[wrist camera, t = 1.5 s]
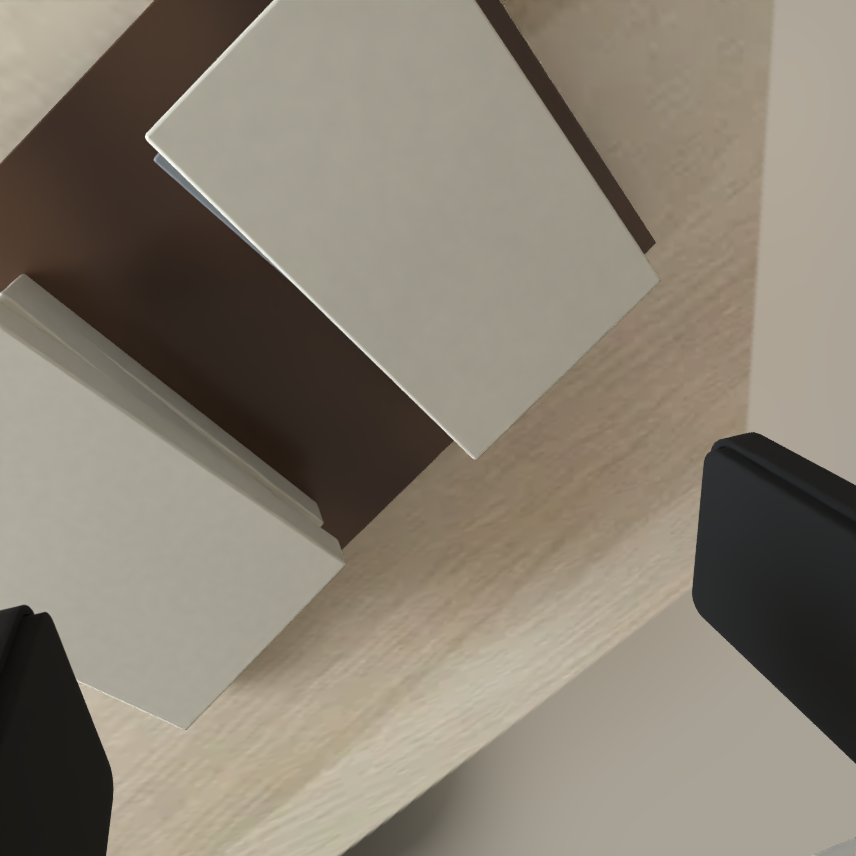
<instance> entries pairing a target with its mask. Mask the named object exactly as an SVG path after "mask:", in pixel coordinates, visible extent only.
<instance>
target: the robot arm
mask: <svg viewBox="0 0 856 856" xmlns="http://www.w3.org/2000/svg"><path fill="white" fill-rule="evenodd" d="M692 597H693V602H694V604H695V607H696V609H697V610H698V612H699V614H700V615H701V616H702V617H703V618H704V619H705V620H706V621H707V622H708V623H709V624H710V625H711V626H712V627H713V628H714V629H715V630H716V631H718V632H719V633H720V634H721V635H722V636H723V637H724V638H725V639H726V640H727V641H728V642H729V643H730V644H731V645H732V646H733V647H735V649H736V650H737V651H738V652H739V653H741V654H742V655H743V656H744V657H745V658H746V659H747V660H748V661H749V662H750V663H751V664H752V665H753V666H754V667H755V668H756V669H757V670H758V671H759V672H760V673H761V674H763V675H764V676H765V677H766V678H767V679H768V680H769V681H770V682H771V683H772V684H773V685H774V686H775V687H776V688H777V689H778V690H779V691H780V692H781V693H783V695H784V696H786V697H787V698H788V699H789V700H790V701H791V702H792V703H793V704H794V705H795V706H796V707H797V708H798V709H799V710H800V711H801V712H802V713H803V714H804V715H805V716H806V717H807V718H809V719H810V720H811V721H812V722H813V723H814V724H815V725H816V726H817V727H818V728H819V729H820V730H821V731H822V732H823V733H824V734H825V735H826V736H828V738H829V739H831V740H832V741H833V742H834V743H835V744H836V745H837V746H838V747H839V748H840V749H841V750H842V751H843V752H844V753H845V754H846V755H847V756H848V757H849V758H850V759H852V761H854V762H855V763H856V485H854V484H852V483H850V482H849V481H847V480H845V479H843V478H841V477H839V476H837V475H835V474H833V473H832V472H830V471H828V470H826V469H824V468H822V467H820V466H819V465H817V464H815V463H813V462H811V461H809V460H807V459H806V458H803V457H802V456H800V455H798V454H796V453H794V452H792V451H791V450H789V449H787V448H785V447H783V446H781V445H779V444H778V443H776V442H774V441H772V440H770V439H768V438H766V437H764V436H763V435H761V434H758V433H755V432H752V433H746V434H741V435H737V436H733V437H729V438H724V439H720V440H718V441H717V442H715V443H714V445H713V447H712V449H711V452H709V453H708V454H707V455H706V457H705V460H704V467H703V478H702V489H701V500H700V511H699V522H698V533H697V544H696V555H695V566H694V577H693V588H692ZM112 802H113V777H112V772H111V767H110V764H109V761H108V759H107V756H106V754H105V751H104V749H103V746H102V744H101V741H100V738H99V736H98V733H97V731H96V728H95V726H94V723H93V721H92V718H91V716H90V713H89V710H88V708H87V705H86V703H85V700H84V698H83V695H82V693H81V690H80V688H79V685H78V683H77V680H76V677H75V675H74V672H73V670H72V667H71V665H70V662H69V660H68V657H67V655H66V652H65V649H64V647H63V644H62V642H61V639H60V637H59V634H58V632H57V629H56V627H55V624H54V621H53V619H52V617H51V616H50V615H49V613H47V612H42V613H38V614H34V612H33V610H32V609H31V608H30V607H29V606H27V605H25V604H24V605H20V606H16V607H12V608H8V609H3V610H0V856H106V851H107V843H108V835H109V827H110V818H111V810H112ZM812 856H856V837H855V838H853V839H850V840H848V841H846V842H843V843H841V844H838V845H836V846H834V847H831V848H829V849H826V850H824V851H821V852H819V853H816V854H814V855H812Z"/></svg>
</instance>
